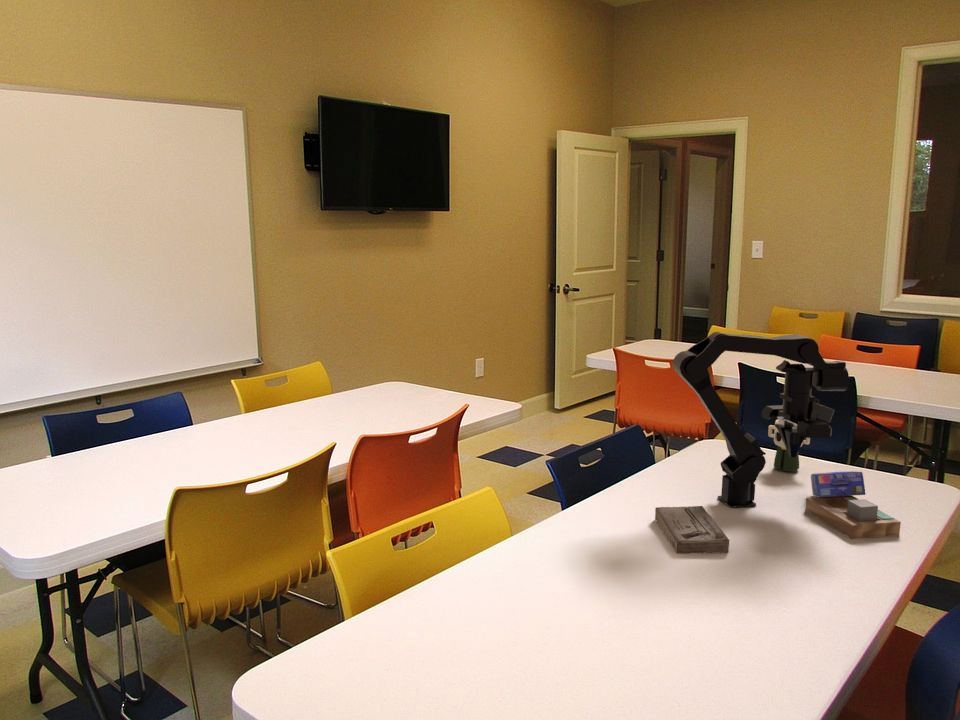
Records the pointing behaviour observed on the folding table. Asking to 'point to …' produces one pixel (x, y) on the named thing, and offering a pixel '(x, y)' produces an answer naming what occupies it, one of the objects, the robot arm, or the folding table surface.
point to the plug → (862, 510)
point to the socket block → (836, 516)
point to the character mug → (784, 452)
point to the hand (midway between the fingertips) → (792, 457)
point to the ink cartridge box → (837, 484)
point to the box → (691, 530)
